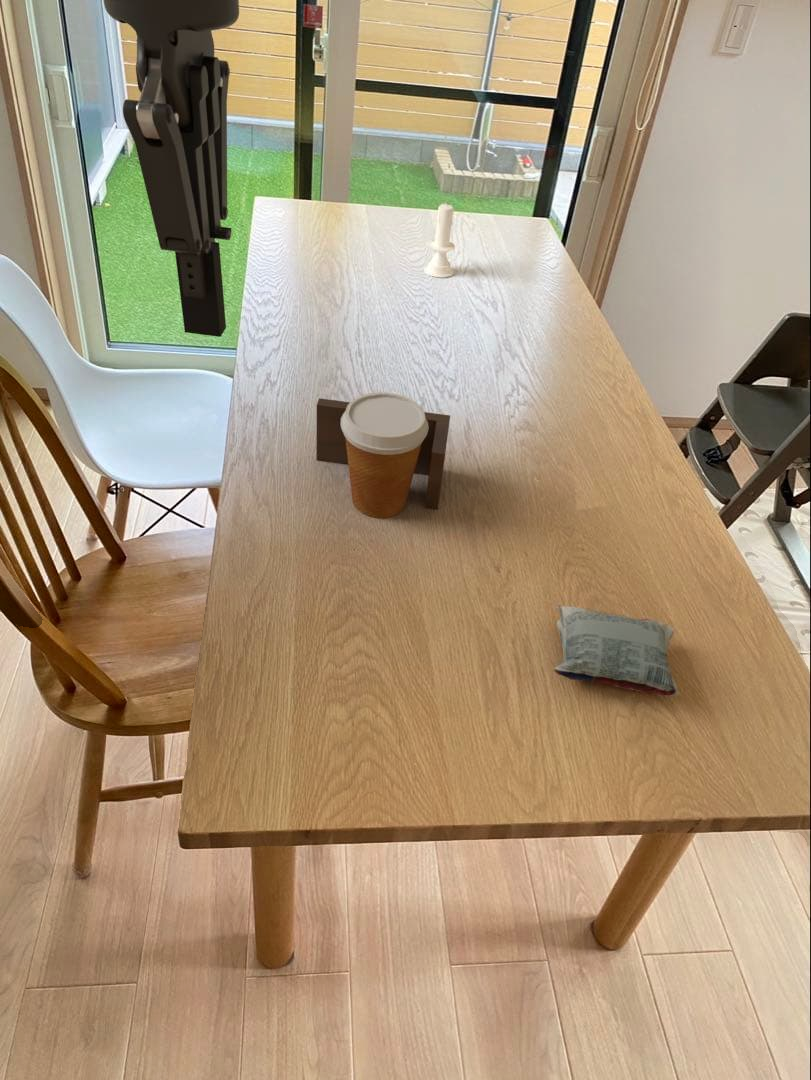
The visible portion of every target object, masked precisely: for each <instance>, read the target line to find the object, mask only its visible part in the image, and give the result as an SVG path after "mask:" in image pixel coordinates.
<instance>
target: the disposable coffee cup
mask: <svg viewBox="0 0 811 1080" xmlns="http://www.w3.org/2000/svg"><path fill="white" fill-rule="evenodd" d="M349 402H350V403H349V404H348V406H347V408H346V411H345V412H344V414H343V415H342V417H341V429H342V431H343V433H344V436H345V437H346V438H345V440H346V448H347V457H348V464H347V465H348V473H349V482H350V490H351V492H350V493H351V501H352V504H353V506H354V508H355V509H356V510H357V511H359V512H361V514H363V515H366V516H369V517H372V518H380V519H381V518H383V519H384V518H389V517H393V516H395V515H398V514H400V513H401V512H402V511H403V510H404V508H405V507H406V504H407V500H408V496H409V492H410V489H411V484H412V482H413V478H414V474H415V473H414V470H415V466H416V463H417V459H418V455H419V451H420V447H421V443H422V442H423V440H424V438H425V437H426V435H427V433H428V429H429V426H428V422H427V419H426V418H425V413H424V412H425V411H424V409H423V407H422V406H421V404H419V403H418V402H416V401H415V400H414V399H411V398H409V397H406V396H404V395H401V394H397V393H393V392H370V393H366V394H362V395H360V396H357V397H355V398H354V399H352V400H351V401H349Z"/></svg>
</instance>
